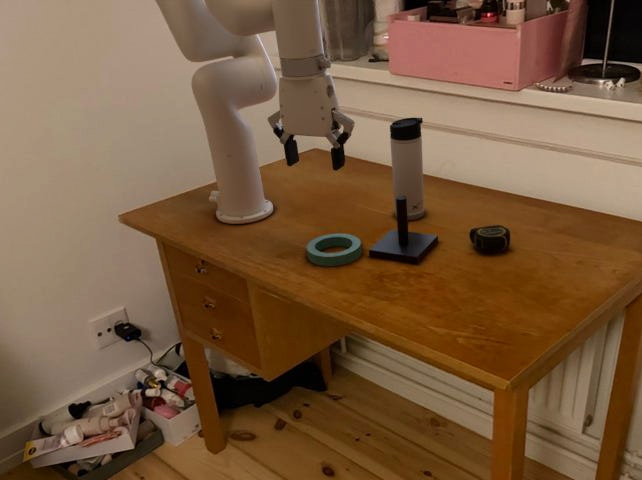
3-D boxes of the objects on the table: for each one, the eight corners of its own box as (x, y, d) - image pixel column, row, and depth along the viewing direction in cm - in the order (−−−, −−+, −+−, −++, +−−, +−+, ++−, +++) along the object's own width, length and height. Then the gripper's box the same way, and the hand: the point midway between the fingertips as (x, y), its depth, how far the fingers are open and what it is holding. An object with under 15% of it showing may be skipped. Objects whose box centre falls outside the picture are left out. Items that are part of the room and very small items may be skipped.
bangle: (297, 261, 134) (296, 252, 133) (325, 239, 142) (324, 230, 140) (345, 269, 130) (344, 259, 129) (371, 246, 137) (370, 237, 136)
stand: (369, 257, 134) (364, 204, 128) (392, 236, 141) (388, 185, 135) (417, 264, 130) (414, 210, 124) (438, 242, 137) (436, 190, 131)
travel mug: (423, 221, 146) (419, 123, 135) (392, 220, 147) (386, 123, 136) (428, 209, 151) (424, 114, 140) (398, 209, 152) (392, 115, 141)
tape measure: (503, 239, 136) (503, 220, 134) (514, 253, 130) (515, 234, 128) (468, 243, 135) (468, 225, 133) (479, 258, 130) (479, 239, 128)
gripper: (358, 62, 118) (367, 163, 127) (272, 60, 125) (287, 156, 134) (336, 72, 112) (347, 176, 122) (248, 70, 119) (265, 169, 129)
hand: (315, 165), depth 128 cm, fingers open, 9 cm apart
